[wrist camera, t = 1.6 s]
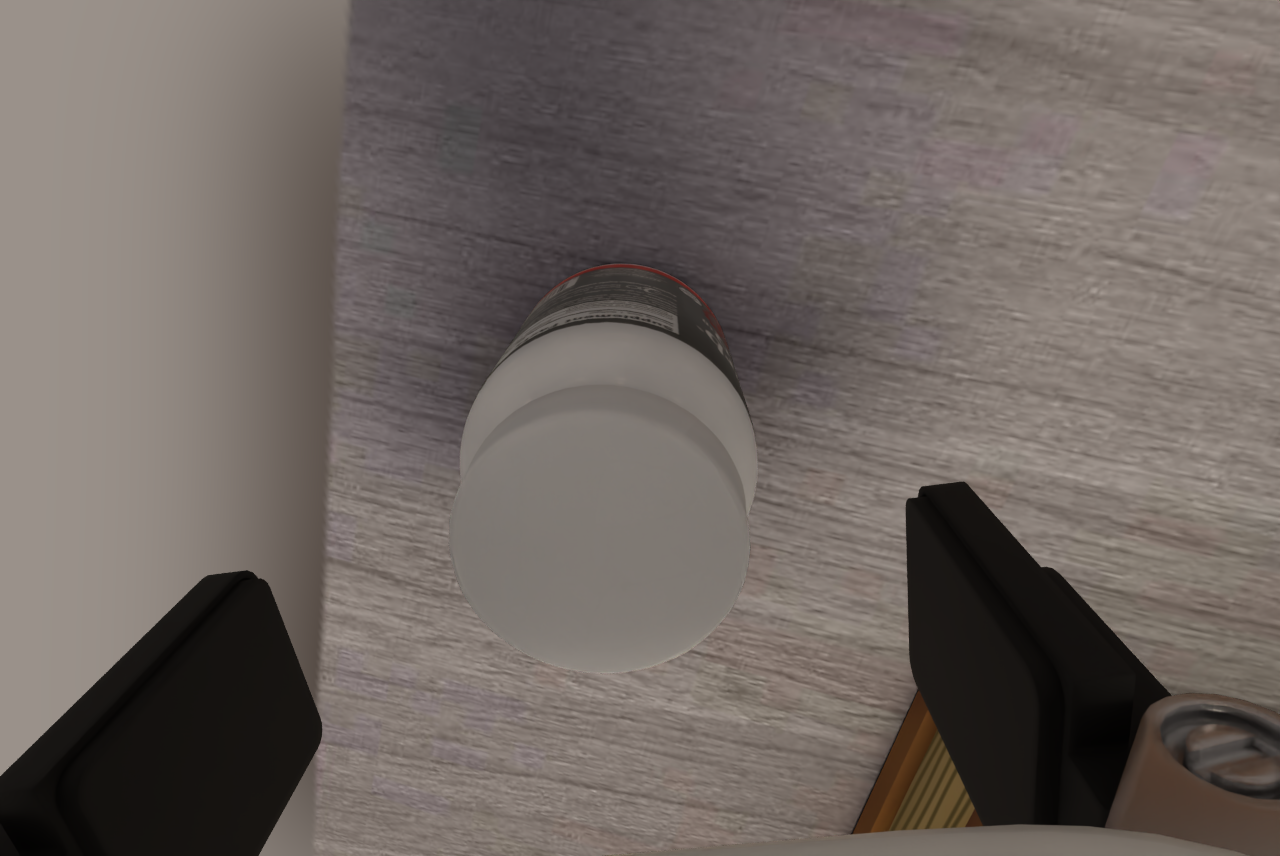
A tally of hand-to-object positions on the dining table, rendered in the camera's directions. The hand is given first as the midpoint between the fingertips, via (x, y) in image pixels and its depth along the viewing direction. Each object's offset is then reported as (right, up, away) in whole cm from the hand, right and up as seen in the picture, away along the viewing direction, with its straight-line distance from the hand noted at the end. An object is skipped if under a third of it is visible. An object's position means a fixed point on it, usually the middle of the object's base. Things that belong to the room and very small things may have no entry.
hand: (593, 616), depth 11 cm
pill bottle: (0, +5, +10) cm, 11 cm away
